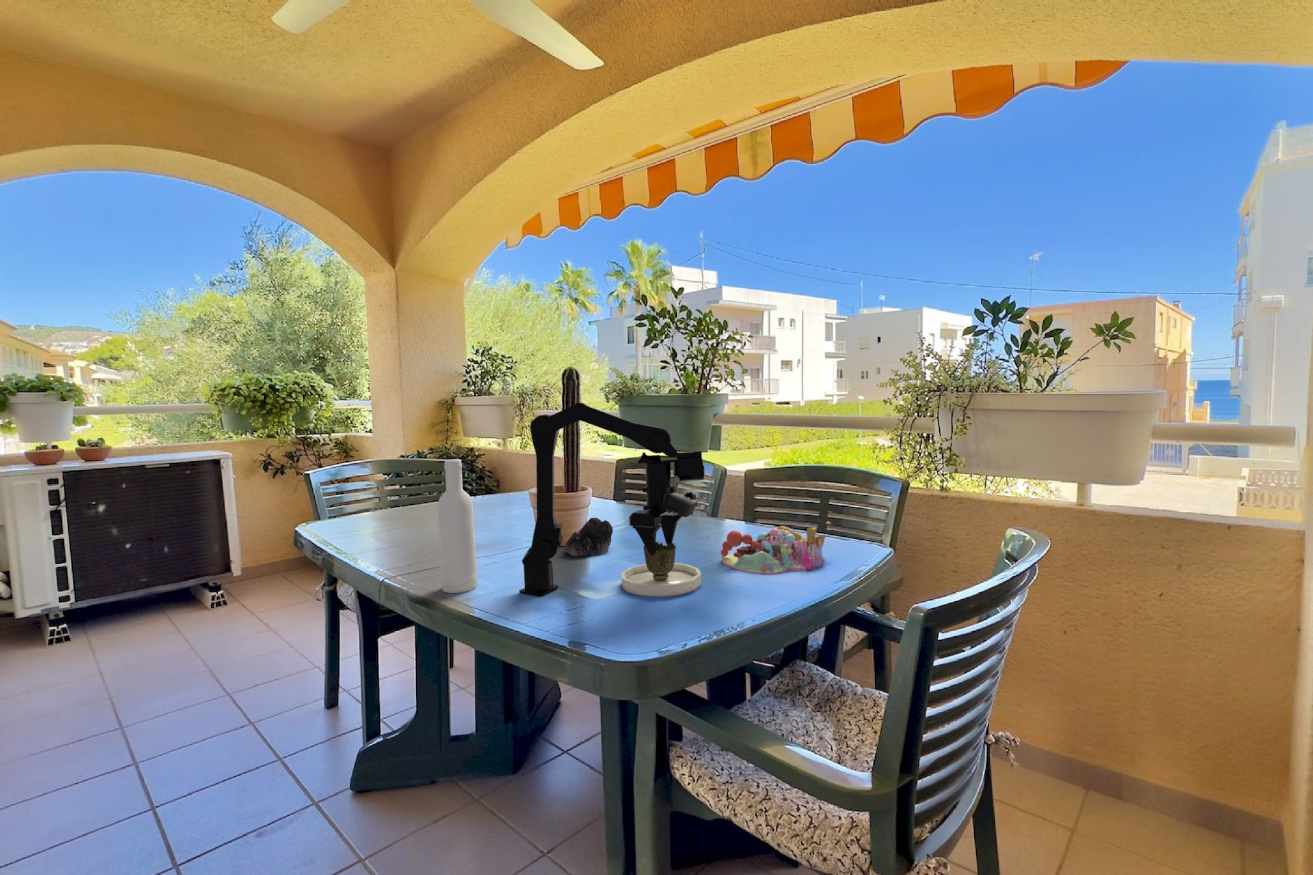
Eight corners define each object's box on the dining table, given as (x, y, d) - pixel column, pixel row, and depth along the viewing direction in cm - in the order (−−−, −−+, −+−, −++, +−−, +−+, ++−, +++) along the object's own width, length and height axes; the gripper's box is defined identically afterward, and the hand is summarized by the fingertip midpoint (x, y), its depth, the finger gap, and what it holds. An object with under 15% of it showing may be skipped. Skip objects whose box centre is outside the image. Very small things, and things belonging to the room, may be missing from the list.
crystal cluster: (554, 557, 168) (553, 523, 167) (579, 542, 181) (578, 509, 179) (597, 565, 163) (596, 529, 162) (619, 548, 176) (619, 515, 174)
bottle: (435, 589, 140) (428, 460, 138) (466, 580, 146) (459, 457, 144) (452, 595, 135) (445, 462, 133) (484, 587, 141) (477, 459, 139)
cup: (681, 576, 140) (680, 542, 140) (669, 585, 134) (668, 550, 133) (652, 573, 143) (651, 540, 143) (639, 582, 137) (637, 547, 136)
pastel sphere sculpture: (764, 546, 172) (763, 514, 171) (840, 559, 155) (840, 524, 155) (708, 565, 154) (707, 529, 154) (788, 582, 138) (787, 542, 137)
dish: (681, 600, 126) (681, 589, 126) (607, 591, 134) (607, 580, 134) (712, 577, 143) (711, 566, 142) (644, 569, 150) (644, 559, 150)
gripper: (673, 489, 125) (676, 563, 126) (706, 477, 142) (708, 543, 143) (626, 487, 130) (629, 558, 131) (663, 476, 147) (666, 539, 148)
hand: (660, 549), depth 138 cm, fingers open, 9 cm apart
